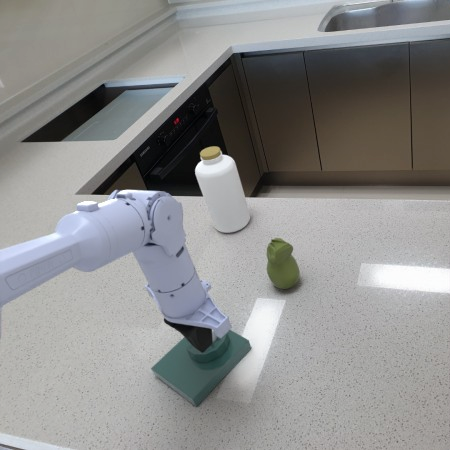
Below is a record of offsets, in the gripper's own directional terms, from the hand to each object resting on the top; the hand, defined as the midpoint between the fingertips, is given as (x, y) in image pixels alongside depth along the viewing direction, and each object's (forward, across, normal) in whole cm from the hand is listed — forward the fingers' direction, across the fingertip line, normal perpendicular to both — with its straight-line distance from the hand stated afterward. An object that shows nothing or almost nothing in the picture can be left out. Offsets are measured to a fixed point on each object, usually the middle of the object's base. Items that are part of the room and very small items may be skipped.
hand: (204, 346), depth 64 cm
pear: (+9, +4, -21) cm, 23 cm away
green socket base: (+8, +5, -1) cm, 10 cm away
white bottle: (+9, +27, -30) cm, 41 cm away
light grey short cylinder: (+5, +5, -3) cm, 8 cm away
